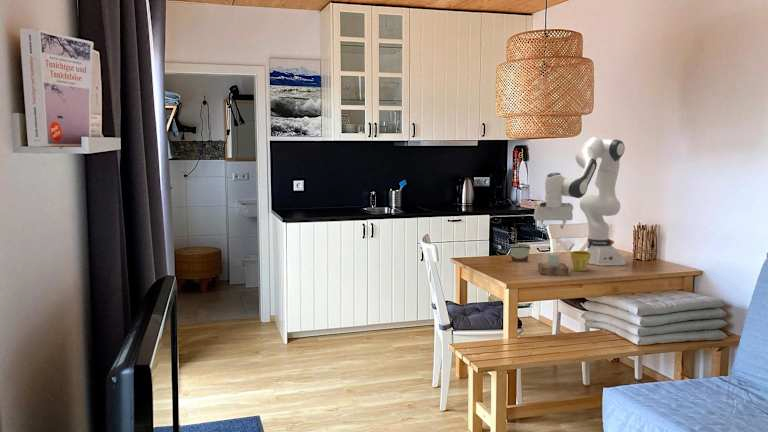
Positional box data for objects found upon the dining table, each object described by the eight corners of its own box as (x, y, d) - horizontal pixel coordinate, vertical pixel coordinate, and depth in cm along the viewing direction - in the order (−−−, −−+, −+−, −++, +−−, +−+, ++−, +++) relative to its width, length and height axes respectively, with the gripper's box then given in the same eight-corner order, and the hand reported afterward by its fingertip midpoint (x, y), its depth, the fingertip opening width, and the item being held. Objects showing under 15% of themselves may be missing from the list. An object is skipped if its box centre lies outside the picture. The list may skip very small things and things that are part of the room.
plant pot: (566, 269, 358) (566, 252, 357) (577, 267, 365) (578, 250, 363) (582, 272, 350) (582, 254, 349) (593, 270, 356) (594, 252, 355)
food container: (529, 260, 385) (529, 243, 384) (530, 262, 379) (530, 245, 378) (507, 260, 386) (508, 243, 385) (508, 262, 380) (509, 245, 379)
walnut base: (563, 270, 356) (564, 263, 356) (568, 275, 342) (568, 268, 342) (537, 269, 358) (538, 262, 357) (541, 275, 344) (541, 267, 344)
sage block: (557, 264, 352) (557, 253, 351) (558, 266, 347) (558, 255, 346) (547, 264, 352) (548, 253, 352) (549, 266, 348) (549, 255, 347)
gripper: (572, 202, 351) (571, 227, 353) (533, 202, 353) (533, 227, 355) (574, 203, 345) (573, 229, 347) (535, 204, 347) (534, 229, 349)
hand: (553, 228), depth 351 cm, fingers open, 8 cm apart
